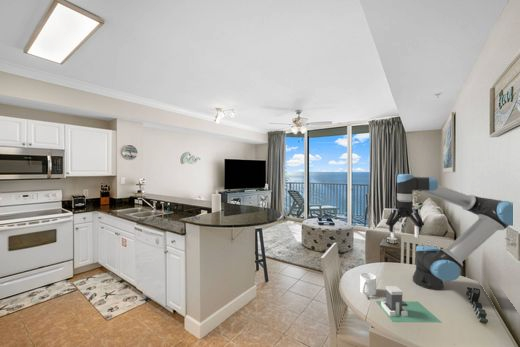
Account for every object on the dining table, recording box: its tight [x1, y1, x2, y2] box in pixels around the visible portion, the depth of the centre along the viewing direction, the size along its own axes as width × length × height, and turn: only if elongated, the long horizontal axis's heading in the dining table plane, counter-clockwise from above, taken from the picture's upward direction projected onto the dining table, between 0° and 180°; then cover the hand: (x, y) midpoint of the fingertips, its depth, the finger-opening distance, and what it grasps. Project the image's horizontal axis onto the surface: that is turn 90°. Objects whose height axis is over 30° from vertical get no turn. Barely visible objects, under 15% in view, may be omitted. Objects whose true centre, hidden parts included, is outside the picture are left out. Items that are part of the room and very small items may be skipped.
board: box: [375, 298, 442, 323], centre depth 109 cm, size 22×16×3 cm
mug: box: [359, 272, 377, 298], centre depth 125 cm, size 12×8×10 cm
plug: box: [385, 285, 404, 315], centre depth 109 cm, size 5×6×11 cm
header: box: [380, 300, 408, 316], centre depth 109 cm, size 8×8×2 cm
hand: (404, 237), depth 127 cm, fingers open, 13 cm apart
